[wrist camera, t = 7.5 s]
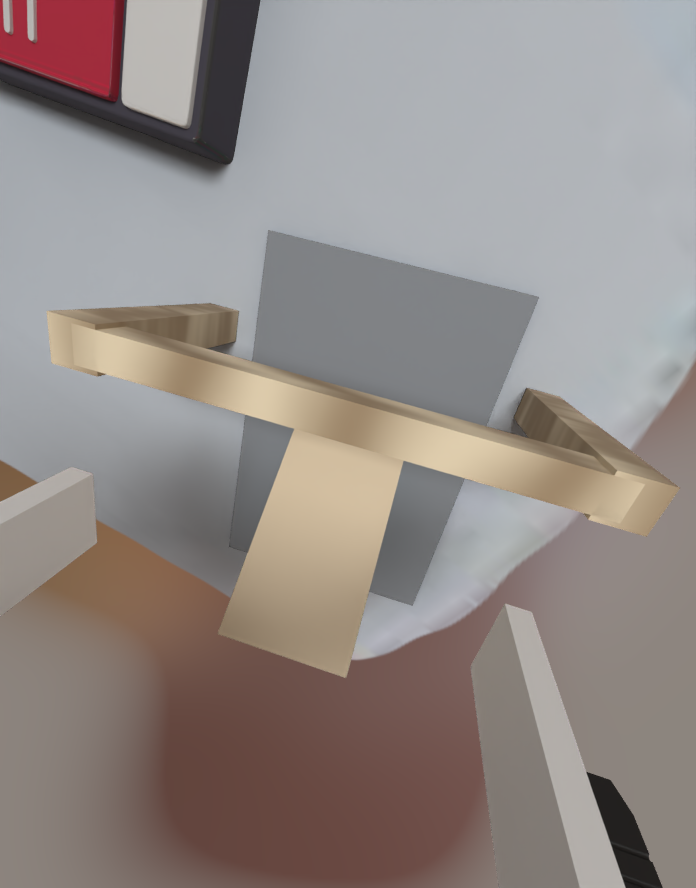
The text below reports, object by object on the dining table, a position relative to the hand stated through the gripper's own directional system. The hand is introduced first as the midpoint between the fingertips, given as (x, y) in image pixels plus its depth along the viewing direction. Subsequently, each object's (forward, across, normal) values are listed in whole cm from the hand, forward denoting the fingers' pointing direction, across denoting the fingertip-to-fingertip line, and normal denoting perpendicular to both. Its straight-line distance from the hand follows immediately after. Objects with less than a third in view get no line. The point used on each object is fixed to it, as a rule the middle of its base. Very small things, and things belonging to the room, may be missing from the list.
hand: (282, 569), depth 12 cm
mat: (+16, 0, -2) cm, 16 cm away
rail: (+16, 0, +4) cm, 16 cm away
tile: (+8, 0, -5) cm, 10 cm away
